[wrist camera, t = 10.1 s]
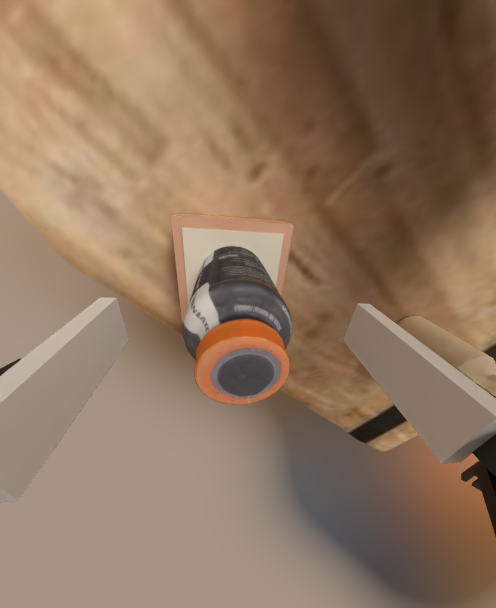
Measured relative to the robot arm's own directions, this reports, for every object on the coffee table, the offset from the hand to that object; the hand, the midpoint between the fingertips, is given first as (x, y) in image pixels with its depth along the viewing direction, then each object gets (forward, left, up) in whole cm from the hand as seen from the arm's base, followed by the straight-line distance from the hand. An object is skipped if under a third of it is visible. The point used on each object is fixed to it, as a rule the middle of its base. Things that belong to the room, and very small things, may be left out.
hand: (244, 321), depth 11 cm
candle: (+9, +27, -12) cm, 31 cm away
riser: (0, 0, -12) cm, 12 cm away
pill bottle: (0, 0, -8) cm, 8 cm away
